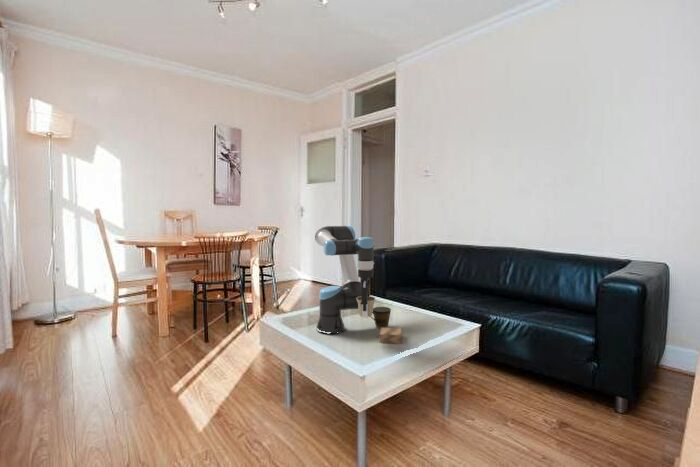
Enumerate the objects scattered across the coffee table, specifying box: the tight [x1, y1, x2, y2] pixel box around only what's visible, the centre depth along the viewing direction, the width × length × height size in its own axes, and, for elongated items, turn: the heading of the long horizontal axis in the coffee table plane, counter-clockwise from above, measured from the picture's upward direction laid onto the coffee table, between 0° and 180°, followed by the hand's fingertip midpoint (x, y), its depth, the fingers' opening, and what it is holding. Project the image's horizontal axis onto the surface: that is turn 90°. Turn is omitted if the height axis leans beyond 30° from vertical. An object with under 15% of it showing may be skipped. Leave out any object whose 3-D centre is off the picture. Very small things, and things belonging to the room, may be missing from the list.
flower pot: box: [356, 295, 376, 318], centre depth 177 cm, size 9×9×9 cm
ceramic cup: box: [370, 306, 392, 329], centre depth 199 cm, size 13×10×10 cm
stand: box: [378, 327, 403, 344], centre depth 180 cm, size 11×11×4 cm
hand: (365, 314), depth 177 cm, fingers closed on flower pot, 8 cm apart
